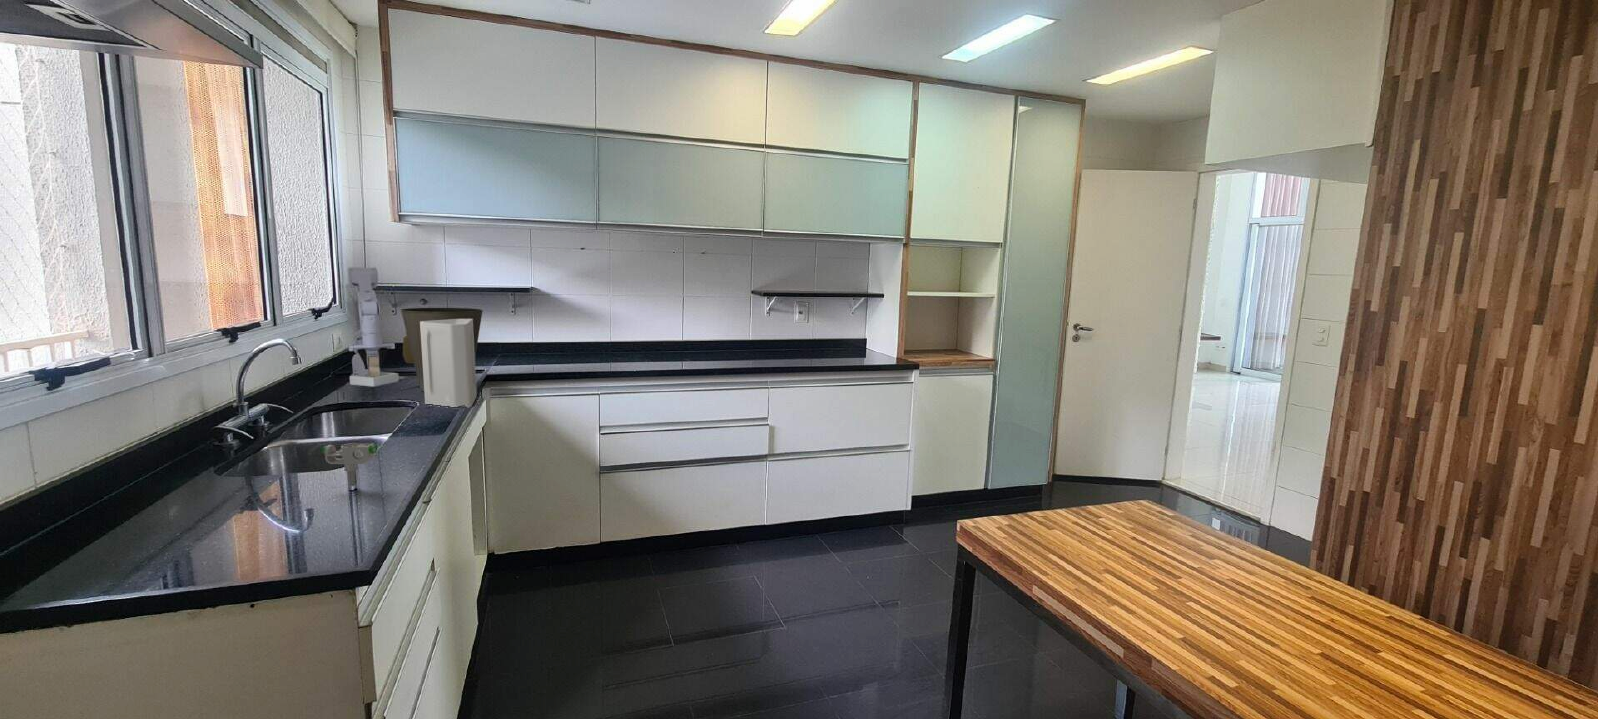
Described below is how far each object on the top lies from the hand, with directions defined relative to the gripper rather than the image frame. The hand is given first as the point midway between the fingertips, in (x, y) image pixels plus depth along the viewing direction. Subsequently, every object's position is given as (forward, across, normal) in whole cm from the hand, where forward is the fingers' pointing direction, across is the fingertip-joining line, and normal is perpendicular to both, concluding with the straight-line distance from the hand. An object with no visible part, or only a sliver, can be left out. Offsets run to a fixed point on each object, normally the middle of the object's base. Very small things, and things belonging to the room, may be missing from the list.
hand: (373, 368), depth 248 cm
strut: (+5, 0, 0) cm, 5 cm away
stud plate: (+6, +7, +8) cm, 12 cm away
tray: (+6, 0, 0) cm, 6 cm away
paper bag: (+7, +15, -47) cm, 50 cm away
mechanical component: (+7, -22, -125) cm, 127 cm away
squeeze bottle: (+7, +22, +48) cm, 53 cm away
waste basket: (+7, +20, -21) cm, 30 cm away
